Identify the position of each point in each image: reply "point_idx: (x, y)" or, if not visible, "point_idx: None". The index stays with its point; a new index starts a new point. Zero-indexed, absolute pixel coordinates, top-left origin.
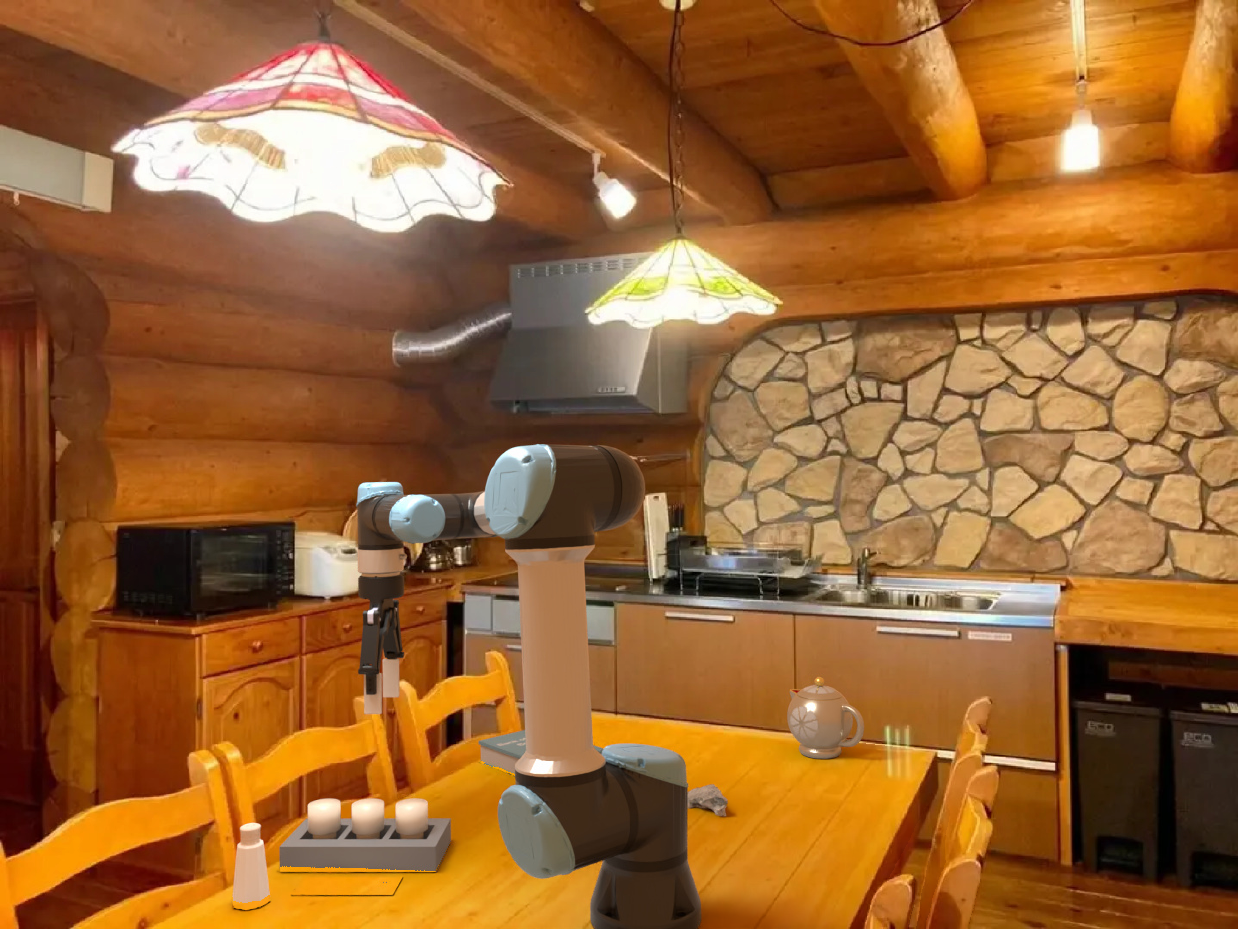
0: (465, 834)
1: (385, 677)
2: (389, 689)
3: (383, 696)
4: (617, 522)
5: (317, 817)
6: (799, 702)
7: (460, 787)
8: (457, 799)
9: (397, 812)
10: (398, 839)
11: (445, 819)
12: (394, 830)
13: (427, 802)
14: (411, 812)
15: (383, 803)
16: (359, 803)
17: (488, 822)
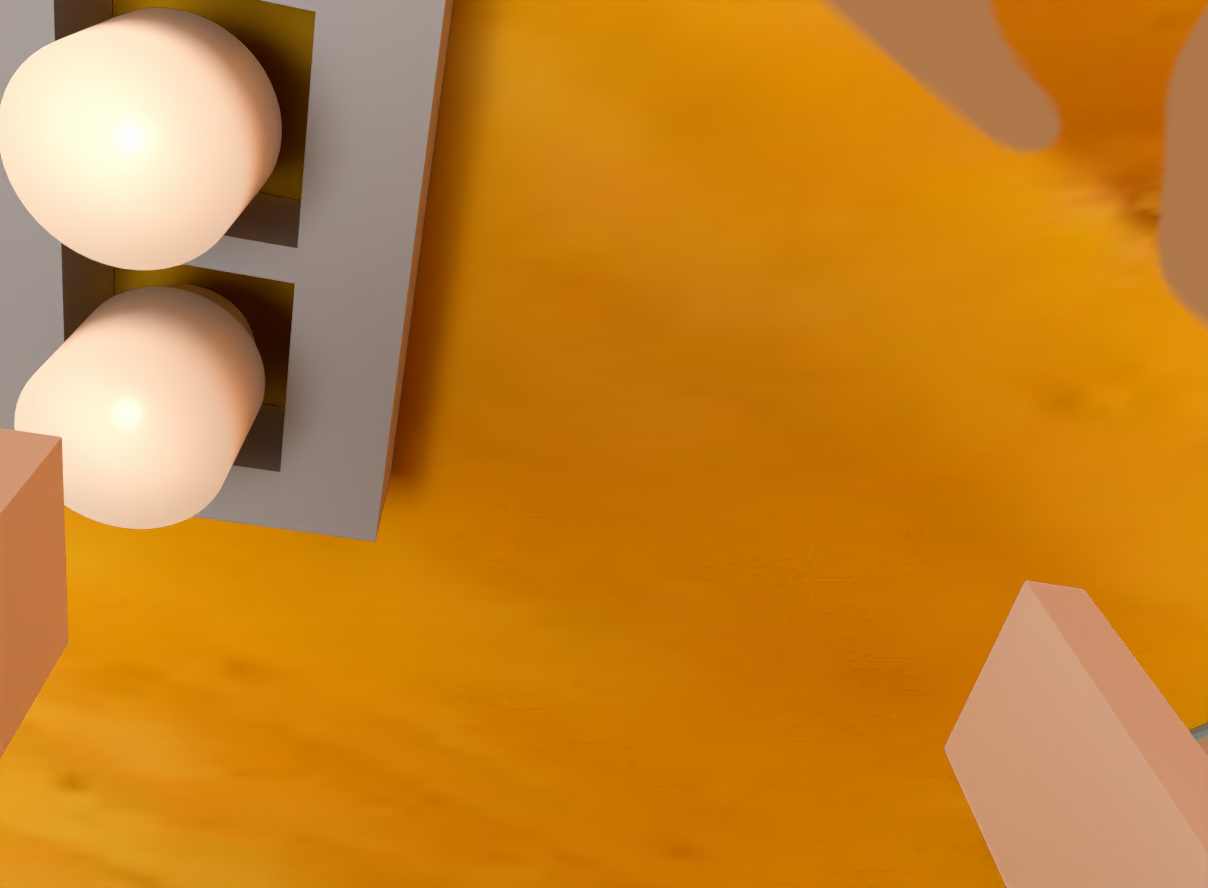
0: (492, 532)
1: (1160, 846)
2: (1030, 737)
3: (1029, 593)
4: None
5: None
6: None
7: (1172, 504)
8: (993, 493)
9: (59, 349)
10: (58, 300)
11: (362, 519)
12: (213, 268)
13: (143, 528)
14: None
15: (128, 268)
16: (128, 93)
17: (626, 619)
